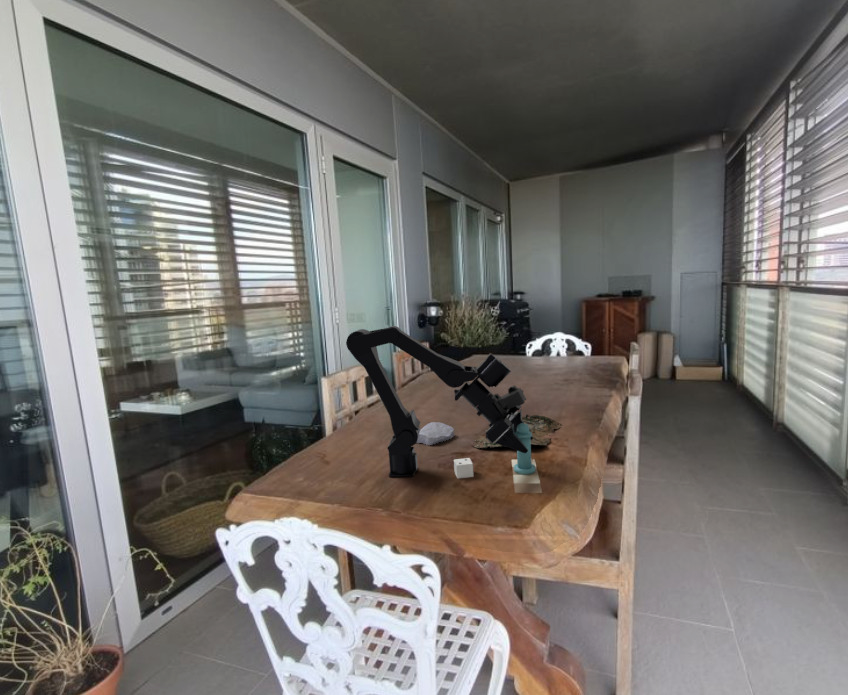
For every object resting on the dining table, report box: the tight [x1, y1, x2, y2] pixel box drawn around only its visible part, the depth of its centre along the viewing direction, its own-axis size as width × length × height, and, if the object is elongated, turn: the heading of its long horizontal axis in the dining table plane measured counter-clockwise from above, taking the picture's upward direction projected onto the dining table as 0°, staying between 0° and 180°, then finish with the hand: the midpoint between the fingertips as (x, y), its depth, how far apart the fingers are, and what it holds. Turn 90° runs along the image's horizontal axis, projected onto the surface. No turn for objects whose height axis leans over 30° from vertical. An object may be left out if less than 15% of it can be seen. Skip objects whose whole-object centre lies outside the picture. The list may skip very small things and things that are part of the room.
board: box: [511, 458, 543, 494], centre depth 113 cm, size 6×20×1 cm, turn 172°
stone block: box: [415, 421, 455, 446], centre depth 146 cm, size 12×5×10 cm
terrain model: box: [473, 414, 562, 449], centre depth 145 cm, size 31×25×5 cm
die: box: [453, 457, 474, 479], centre depth 116 cm, size 4×4×4 cm
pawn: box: [514, 423, 536, 475], centre depth 115 cm, size 5×5×12 cm
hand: (529, 445), depth 114 cm, fingers open, 9 cm apart
